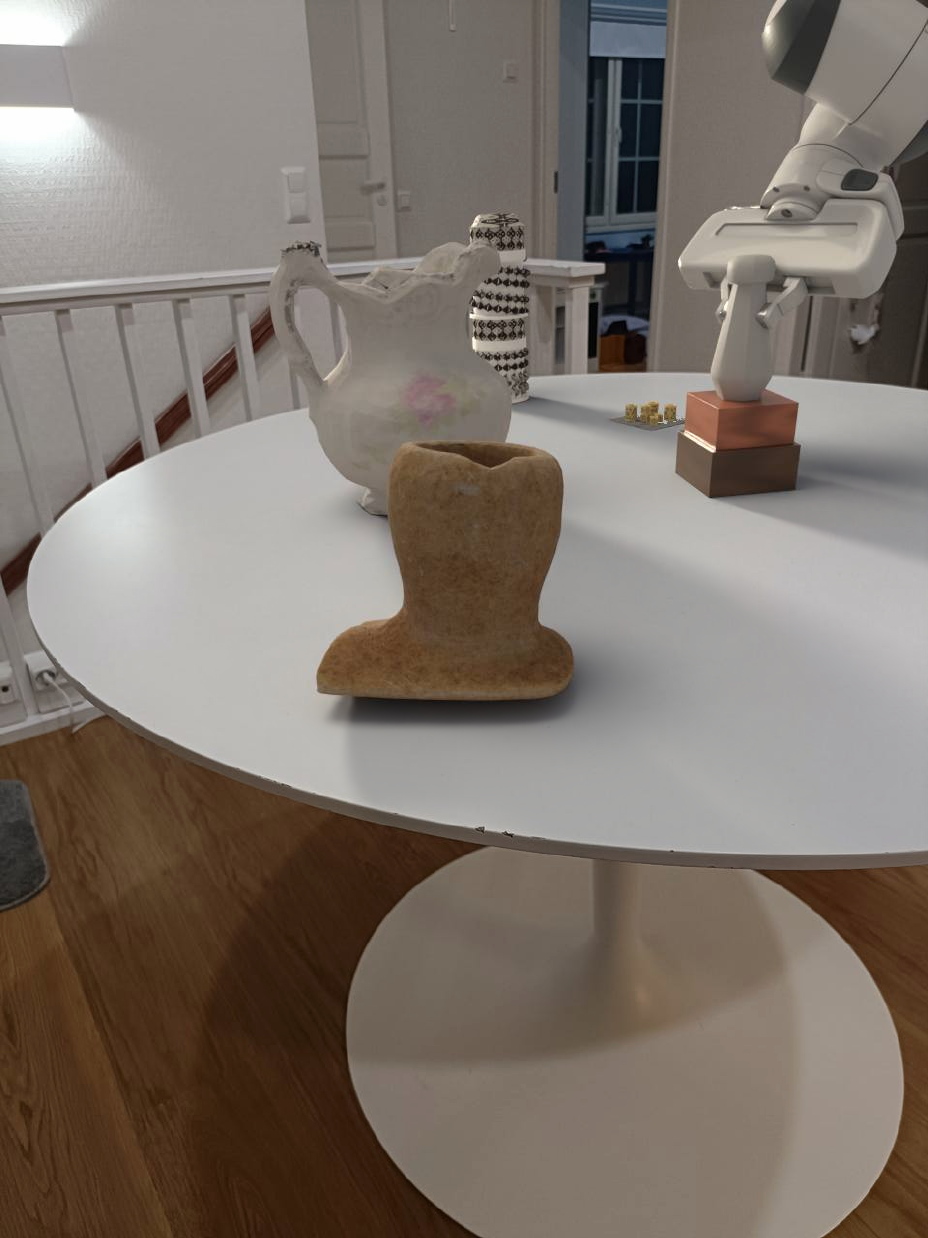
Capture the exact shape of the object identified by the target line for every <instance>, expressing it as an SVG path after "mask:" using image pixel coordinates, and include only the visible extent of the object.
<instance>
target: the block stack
mask: <svg viewBox="0 0 928 1238" xmlns="http://www.w3.org/2000/svg"><path fill="white" fill-rule="evenodd" d="M685 401H686V403H685V415H684V417H685V423H684V429H683V430H682V429H681V430H677V439H676V453H675V454H676V456H675V469H674V470H675V471H674V472H675V473H676V474H677V475H678V476H679V477H681V478H682V479H683V480H685V481H686V482H688V483H689V484H690V485H691V486H693V487H694V488H695V489H697V490H698V491H699V492H701V493H702V494H703V495H705V496H706V497H707V498H709V499H710V498H718V497H719V498H720V497H721V498H722V497H731V496H741V495H752V494H764V493H775V492H786V491H796V488H797V480H798V472H799V465H800V457H801V451H802V445H801V444H800V443H797V442H796V441H795V437H796V431H797V422H798V421H797V420H798V413H799V406H800V405H799V404H800V402H798V401H796V400H793V399H791V398H788V397H786V396H783V395H781V394H779V393H776V392H774V391H773V390H772V391H771V390H769V389H766V388H765V390H764V391H763V393H762V394H761V396H760V398H759V399H758V400H751V401H743V402H741V401H730V400H723V399H721V398H720V397H718V395H717V392H716V389H714V390H701V391H689V392H686V400H685Z"/></svg>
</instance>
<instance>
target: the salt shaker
mask: <svg viewBox="0 0 928 1238" xmlns="http://www.w3.org/2000/svg"><path fill="white" fill-rule="evenodd" d="M775 270H776V266H775V260H774V259H773V258H772V257H771V256H768V255H763V254H749V255H740V256H737V257H734V258H732V259H731V260H730V261H729V263H728V267H727V279H728V281H729V282H731V283H733V285H732V289H731V293H730V297H729V301H728V305H727V309H726V317H725V318H724V320H723V324H722V325H721V327H720V328H721V329H720V333H719V336H718V339H717V344H716V348H715V352H714V356H713V359H712V363H711V368H710V377H711V380H712V383H713V386H714V390H716V392H717V395H718V397H720V398H721V399H723V400H730V401H741V402H743V401H751V400H758V399H759V398H760V396H761V394H762V393H763V391H764V390H765V389H766V388H767V386H768V385H769V383H770V381H771V380H772V378H773V373H774V369H773V368H774V367H773V355H772V344H771V333H770V330H771V329H765V328H763V327H762V326H761V325H760V323H759V322H758V321H757V320H756V318H755V317H756V314H757V313H758V312H759V311H760V309H761V307H762V306H763V305H764V304H765V303H768V293H767V285H766V283H767V282H770V281H772V280H773V279H774V276H775Z"/></svg>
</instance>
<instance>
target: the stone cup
mask: <svg viewBox="0 0 928 1238" xmlns="http://www.w3.org/2000/svg"><path fill="white" fill-rule="evenodd" d="M564 483H565V482H564V476H563V469H562V467H561V465H560V463H559V460H557V458H556V457H555V456H554V455H552V454H551V453H550V452H548V451H546V450H544V449H541V448H537V447H535V446H530V445H525V444H520V443H514V442H506V441H505V442H494V441H466V440H455V441H442V440H435V441H428V442H427V441H412V442H408V443H405V444H403V445H402V446H400V447H399V448H398V450H397V452H396V454H395V456H394V458H393V461H392V465H391V468H390V472H389V477H388V484H387V512H388V515H387V520H388V525H389V526H388V527H389V530H390V535H391V540H392V545H393V551H394V554H395V558H396V561H397V565H398V568H399V573H400V577H401V581H402V589H403V590H402V591H403V602H402V606H401V608H400V609H399V610H398V612H397V613H396V614H395V615H393V616H392V617H390V618H383V619H374V620H366V621H363V622H361V624H359V625H354V626H350V627H349V628H347V629H346V630H344V631H342V632H340V633H339V634H338V635H337V636H336V637H335V638H334V639H333V641H332V642H331V643H330V645H329V647H328V648H327V650H326V651H325V653H323V656H322V659H321V661H320V663H319V666H318V668H317V670H316V676H315V678H316V692H318V693H319V694H321V695H330V696H344V697H345V696H346V697H361V698H378V699H379V698H380V699H395V700H396V699H401V700H404V699H405V700H427V701H428V700H432V701H434V700H435V701H514V700H516V701H517V700H535V699H542V698H543V699H544V698H548V697H553V696H555V695H557V694H559V693H561V692H562V691H564V690H565V689H566V688H567V686H568V685H569V683H570V681H571V679H572V677H573V675H574V671H575V657H574V653H573V649H572V646H571V644H570V643H569V642H568V641H567V639H565V637H564V636H563V635H562V634H560V633H559V632H558V631H556V630H554V629H552V628H550V627H547V626H545V625H542V624H541V622H540V619H539V608H540V601H541V594H542V591H543V588H544V585H545V582H546V579H547V576H548V574H549V572H550V569H551V566H552V563H553V560H554V557H555V554H556V551H557V549H558V548H557V547H558V544H559V540H560V536H561V531H562V519H563V518H562V516H563V515H562V514H563V504H564V491H565V490H564V488H565V487H564V486H565V485H564Z"/></svg>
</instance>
